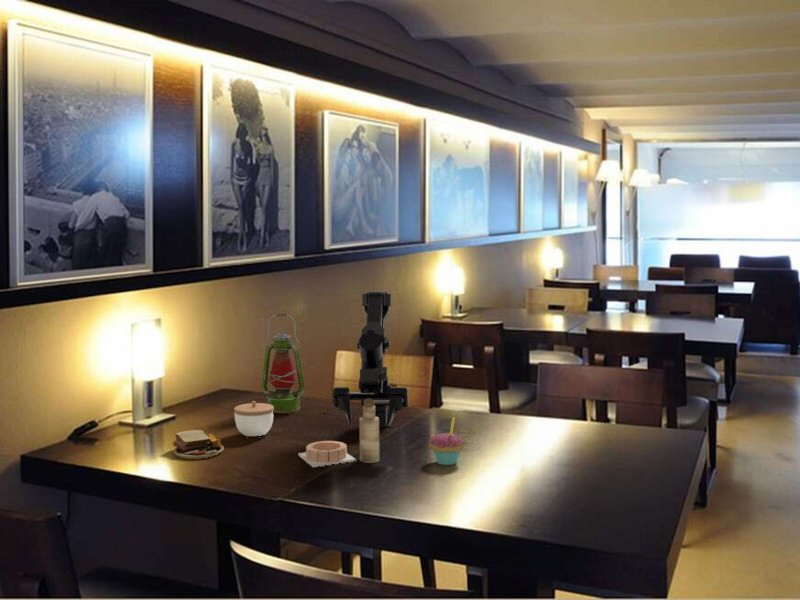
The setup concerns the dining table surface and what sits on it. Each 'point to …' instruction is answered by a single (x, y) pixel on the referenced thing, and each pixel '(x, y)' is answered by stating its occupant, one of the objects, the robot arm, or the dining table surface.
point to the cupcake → (446, 446)
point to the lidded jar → (254, 418)
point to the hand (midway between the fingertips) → (369, 426)
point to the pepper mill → (369, 433)
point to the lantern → (282, 373)
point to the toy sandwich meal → (196, 445)
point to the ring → (326, 453)
